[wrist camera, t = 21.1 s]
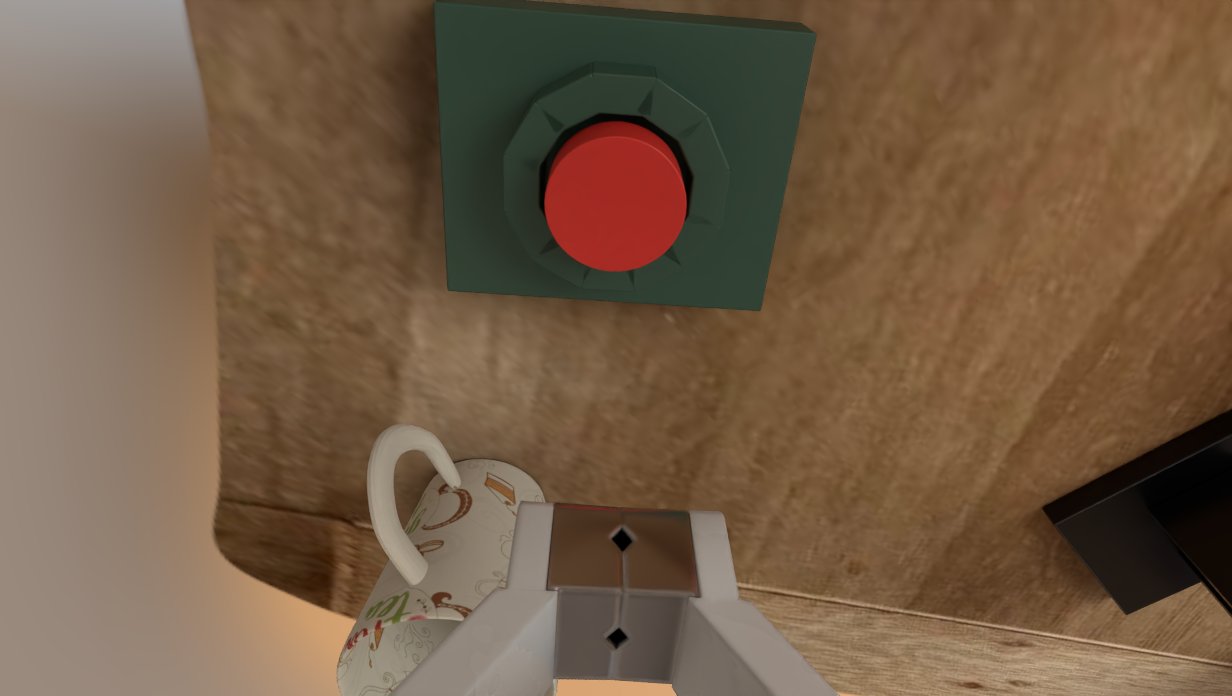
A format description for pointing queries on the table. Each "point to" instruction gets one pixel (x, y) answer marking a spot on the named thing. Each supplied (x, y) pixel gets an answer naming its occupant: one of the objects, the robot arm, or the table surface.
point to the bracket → (1158, 520)
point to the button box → (602, 92)
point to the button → (615, 196)
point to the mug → (430, 558)
